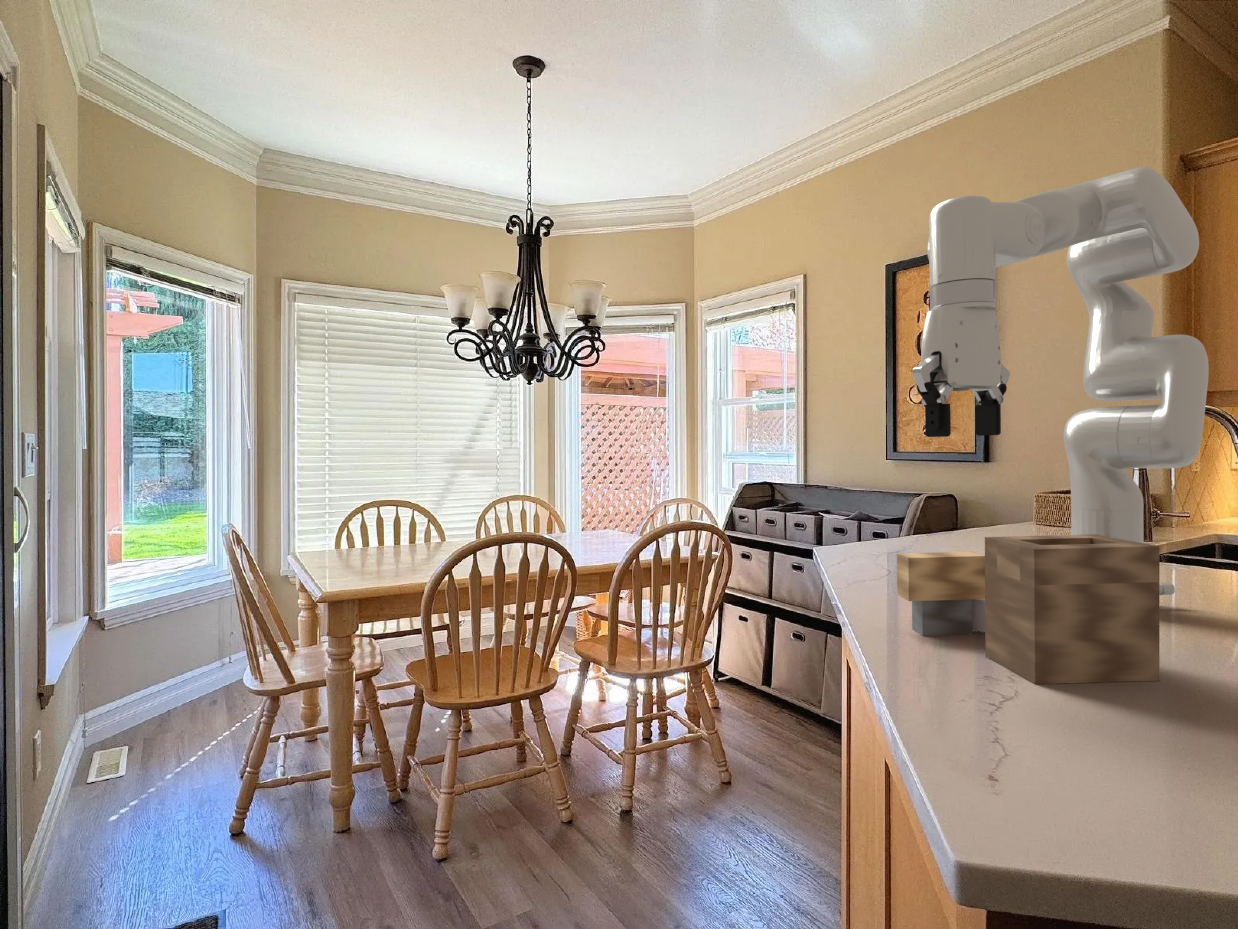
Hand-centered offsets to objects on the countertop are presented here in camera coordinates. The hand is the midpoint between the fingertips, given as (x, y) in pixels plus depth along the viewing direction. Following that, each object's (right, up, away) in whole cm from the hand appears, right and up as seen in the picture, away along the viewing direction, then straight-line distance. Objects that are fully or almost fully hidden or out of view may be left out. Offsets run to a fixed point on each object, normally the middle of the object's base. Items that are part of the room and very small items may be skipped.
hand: (963, 435), depth 92 cm
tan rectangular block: (+2, -27, +11) cm, 29 cm away
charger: (+14, -27, +14) cm, 34 cm away
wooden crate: (+9, -28, -6) cm, 30 cm away
